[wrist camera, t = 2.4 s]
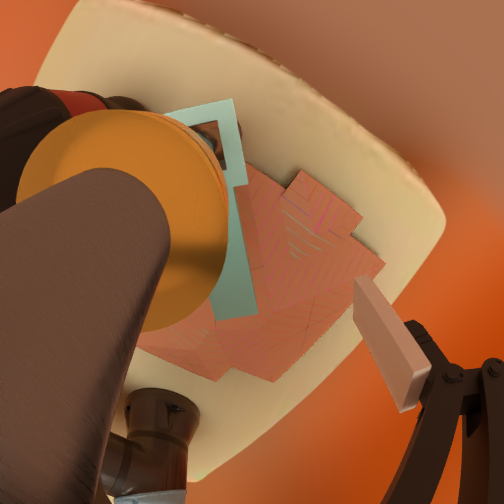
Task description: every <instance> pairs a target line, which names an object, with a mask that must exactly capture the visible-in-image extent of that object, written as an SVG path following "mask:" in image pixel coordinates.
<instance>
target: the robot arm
mask: <svg viewBox="0 0 504 504" xmlns="http://www.w3.org/2000/svg"><path fill="white" fill-rule="evenodd" d="M353 320H354V322H355V324H356V325H357V327H358V329H359V331H360V333H361V335H362V337H363V339H364V341H365V343H366V345H367V347H368V348H369V350H370V353H371V354H372V356H373V358H374V360H375V362H376V364H377V366H378V368H379V370H380V372H381V375H382V376H383V379H384V380H385V383H386V385H387V387H388V389H389V391H390V393H391V395H392V397H393V399H394V402H395V404H396V406H397V408H398V410H399V412H400V413H402V412H405V411H407V410H410V409H412V408H415V407H416V405H417V403H418V401H419V400H420V402H421V404H422V406H423V407H422V409H421V411H420V413H419V415H418V418H417V419H418V420H417V423H416V426H415V429H414V431H413V434H412V437H411V439H410V442H409V444H408V447H407V449H406V451H405V454H404V456H403V458H402V461H401V463H400V465H399V468H398V470H397V472H396V474H395V476H394V478H393V480H392V482H391V484H390V486H389V488H388V490H387V492H386V494H385V496H384V498H383V500H382V502H381V503H380V504H430V503H431V501H432V498H433V496H434V493H435V491H436V489H437V486H438V483H439V480H440V478H441V476H442V473H443V470H444V467H445V464H446V461H447V458H448V454H449V452H450V448H451V445H452V441H453V438H454V434H455V430H456V426H457V422H458V418H459V415H462V465H461V478H460V489H459V497H458V504H504V362H503V361H502V360H500V359H497V358H490V359H487V360H486V361H485V362H484V363H483V365H482V367H481V368H476V369H466V370H464V369H463V368H462V367H460V366H459V365H456V364H451V363H449V361H448V360H447V358H446V357H445V356H444V354H443V353H442V351H441V350H440V349H439V347H438V346H437V345H436V343H435V342H434V341H433V339H432V337H431V336H430V335H428V332H427V331H426V329H425V328H424V327H423V325H421V324H420V323H418V322H417V321H415V320H411V321H408V322H404V323H403V322H402V320H401V319H400V318H399V316H398V315H397V313H396V312H395V311H394V309H393V308H392V307H391V305H390V304H389V302H388V301H387V300H386V298H385V297H384V296H383V294H382V293H381V291H380V290H379V289H378V287H377V286H376V285H375V283H374V282H373V281H372V279H371V278H370V277H369V276H368V274H366V275H362V276H357V277H354V305H353ZM124 412H125V420H126V427H127V438H123V437H121V436H119V435H117V434H114V433H112V432H110V433H109V437H108V441H107V445H106V449H105V453H104V457H103V461H102V466H101V470H100V475H99V479H98V484H97V489H96V494H95V499H94V504H112V503H111V501H110V500H109V498H108V496H107V495H110V496H113V497H114V504H185V498H186V493H187V490H186V481H187V460H188V447H189V444H190V442H191V440H192V438H193V436H194V434H195V432H196V430H197V428H198V425H199V411H198V409H197V407H196V406H195V405H194V404H193V403H192V402H191V401H190V400H188V399H187V398H185V397H183V396H181V395H179V394H176V393H174V392H170V391H166V390H162V389H151V388H149V389H140V390H136V391H134V392H132V393H131V394H130V395H129V396H128V397H127V400H126V403H125V408H124ZM106 494H107V495H106Z"/></svg>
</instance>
